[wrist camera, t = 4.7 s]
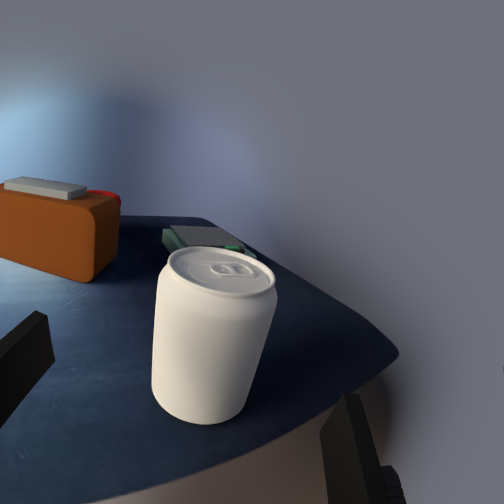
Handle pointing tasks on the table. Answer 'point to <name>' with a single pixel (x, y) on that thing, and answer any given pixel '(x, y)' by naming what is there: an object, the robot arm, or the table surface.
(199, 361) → the beverage can
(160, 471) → the table surface
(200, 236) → the weighing plate
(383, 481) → the robot arm
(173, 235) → the scale
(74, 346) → the table surface
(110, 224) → the alarm clock
